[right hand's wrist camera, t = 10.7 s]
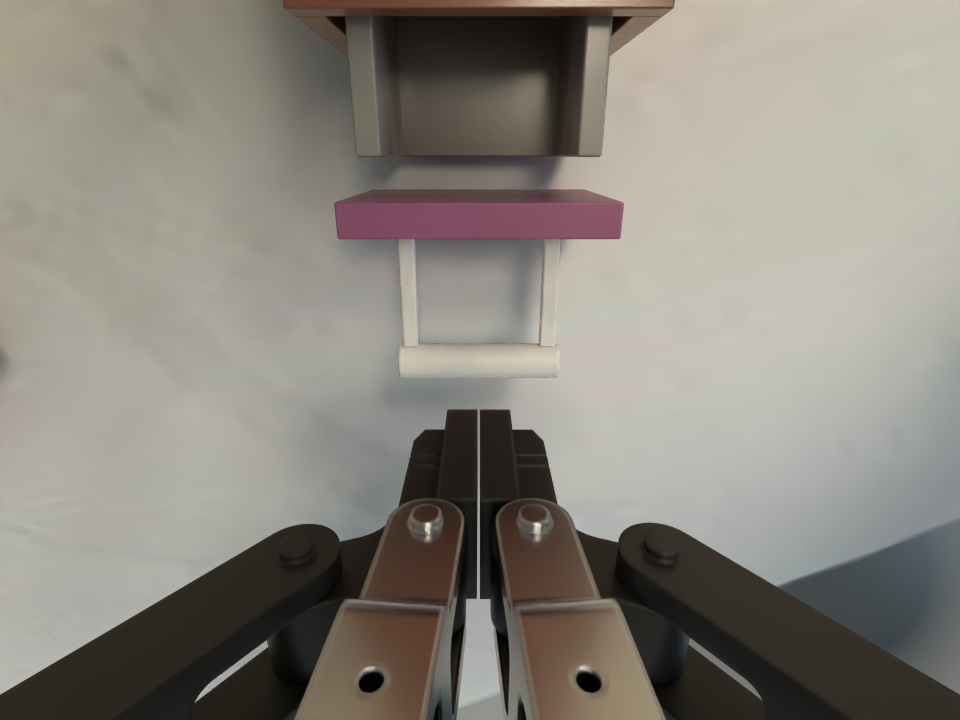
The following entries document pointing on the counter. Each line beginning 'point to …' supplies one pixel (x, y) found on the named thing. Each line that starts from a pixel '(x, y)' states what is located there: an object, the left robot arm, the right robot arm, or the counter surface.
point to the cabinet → (478, 13)
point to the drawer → (478, 153)
